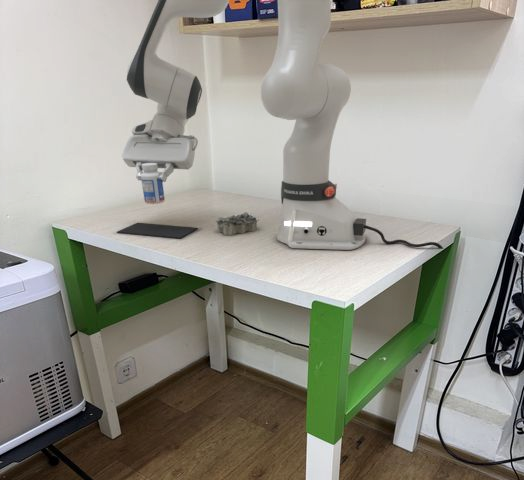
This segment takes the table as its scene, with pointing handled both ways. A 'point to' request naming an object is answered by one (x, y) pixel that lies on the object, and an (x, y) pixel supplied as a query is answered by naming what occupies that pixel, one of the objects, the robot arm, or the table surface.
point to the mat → (158, 230)
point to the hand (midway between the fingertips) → (150, 179)
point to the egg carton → (236, 224)
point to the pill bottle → (152, 184)
